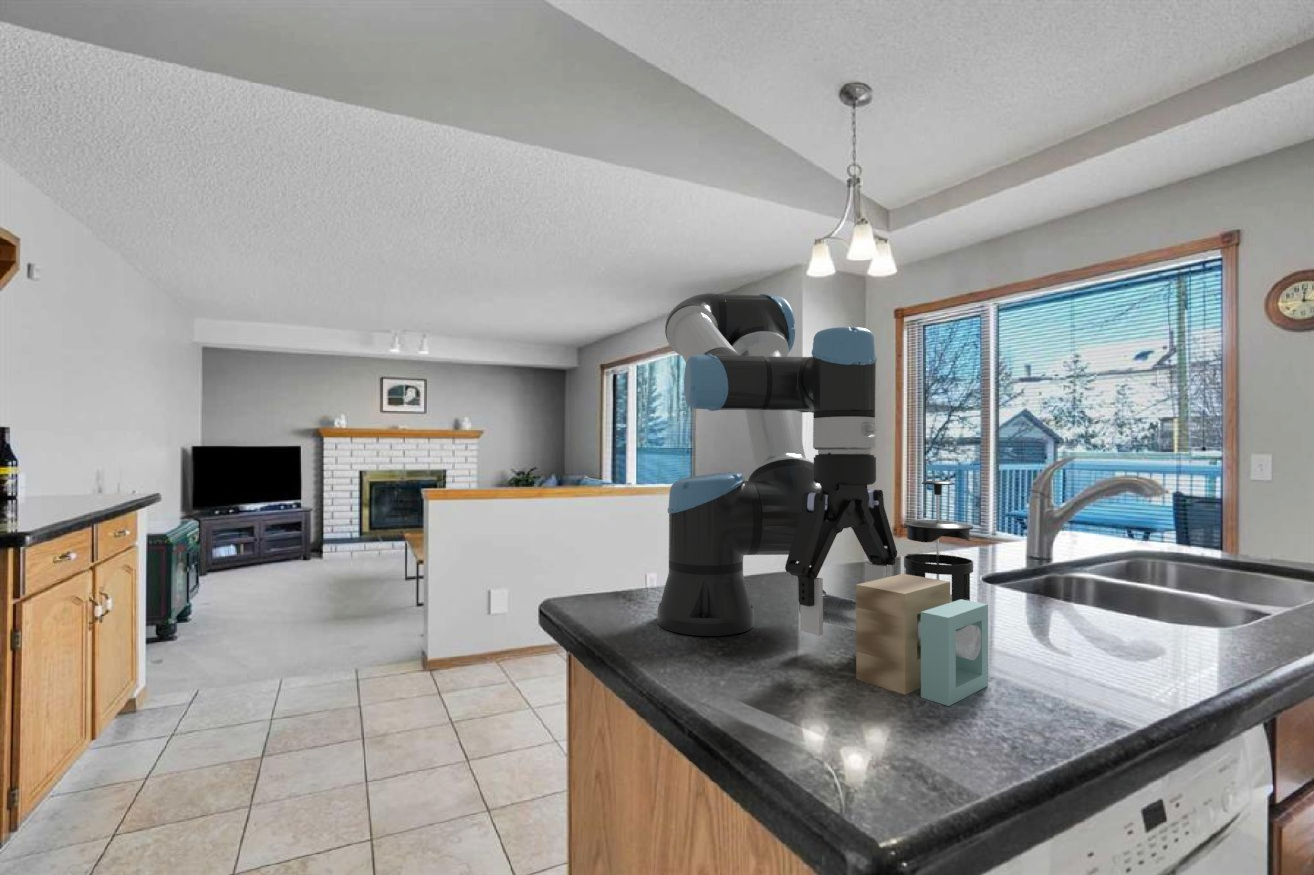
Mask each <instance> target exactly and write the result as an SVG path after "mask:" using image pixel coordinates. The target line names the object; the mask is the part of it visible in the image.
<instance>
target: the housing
mask: <svg viewBox="0 0 1314 875" xmlns="http://www.w3.org/2000/svg"><path fill="white" fill-rule="evenodd" d="M855 586H856V589H855V591H856V593H855V600H856V631H855V641H856V642H855V644H856V646H855V650H856V652H855V658H856V659H855V663H856V664H855V665H856V666H855V669H856V670H855V672H856V673H855V674H856V675H855V676H856V677H855V679H856V680H858V681H860V682H864V683H868V684H870V685H874V686H877V687H880V688H883V689H886V690H888V691H892V692H896V693H899V694H901V695H905V696H906V695H908V694H910V693H912V692H914V691H917V690H918V689H919V690H920V689H921V647H918V646H917V614H921V612H922V611H925V610H928V609H932V608H935V607H938V606H941V605H944V604H948V603H950V594H951V581H950V580H943V579H942V580H941V579H939V580H937V578H930V577H926V576H925V577H919V576H913V575H907V574H906V573H900V574H897V575H895V574H894V575H891V576H887V578H882V579H878V580H874V581H869V582H865V581H864V582H861V583H857V584H856V585H855Z"/></svg>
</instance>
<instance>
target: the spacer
mask: <svg viewBox="0 0 1314 875" xmlns="http://www.w3.org/2000/svg"><path fill="white" fill-rule="evenodd" d="M970 624H971V625H975V626H978V627H979V629H980V631H981V637H982V643H981V649H980V652H979V655H978V656H977V658H976V659H975V660H969V659H965V658H961V657H957V656H956V630H957V629H959V628H962V627H965V626H967V625H970ZM988 686H989V604H988V603H983V602H978V601H973V600H970V601H968V600H962V599H960V600H957V601H954V602H951V603H948V604H944V605H941V606H938V607H935V608H932V609H928V610H925V611H922V612H921V688H920V698H922V699H925V700H927V701H931V702H935V703H937V704H941V705H944V706H946V707H947V706H948V707H950V706H951V705H953V704H956V703H957V702H960V701H961V700H963V699H965V698H967V697H969V696H972V695H973V694H975V693H977V692H978V691H981V690H983V689H985V688H987V687H988Z"/></svg>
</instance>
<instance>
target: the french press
mask: <svg viewBox="0 0 1314 875" xmlns="http://www.w3.org/2000/svg"><path fill="white" fill-rule="evenodd" d="M921 484H922V485H928V486H929V485H931V486H933V494H934V495H935V499H936V502H935V503H936V507H935V510H936V512H935V513H936V514H935V515H936V518H935V519H922V520H921V519H920V520H910V521H906V522H905V521H904V522H903V526H904V527H906V539H908V540H910V541H913V542H919V543H933V542H935V541H936V552H935V553H934V554H933V553H907V554H906V555H904V556H903V567H904V568H905V574H907V575H913V576H919V577H925V578H926V574H932V575H936V579H937V580H940V575H943V576H944V575H945V576H950V575H951V593H950V603H951V602H954V601H957V600H960V599H962V600H968V601H971V574H972V573H973V572H974V561H973V559H970V558H966V557H961V556H956V555H949V554H940V538H941V537H945V538H954V539H955V538H956V539H961V540H965V541H967V542H970V541H971V540H970V537H971V536H970V535H971V534H970V531H971V530H973V529H974V526H973V525H971V524H968V523H963V522H957V521H953V520H941V519H940V496H941V495H942V486H953V485H955V483H954V482H952V481H949V480H926V481H923V482H921Z"/></svg>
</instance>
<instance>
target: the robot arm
mask: <svg viewBox="0 0 1314 875" xmlns="http://www.w3.org/2000/svg"><path fill="white" fill-rule="evenodd" d="M795 321H796V320H795V315H794V312H793V309H792V306H791V304H790V303H789V302H788V301H787V300H786V299H785V298H784V297H782V296H778V295H771V294H770V295H769V294H766V293H760V294H740V293H739V294H734V293H733V294H732V293H713V292H711V293H710V292H709V293H708V292H707V293H701V294H700V293H699V294H697V295H693V296H691V297H689V298H687V299H685V300H683V301H681V302H680V303H679V304H677V305H676V306H675V307H673V309H672V310H671V311H670V313H669V314H668V316H667V318H666V320H665V325H664V332H665V333H664V334H665V337H666V341H667V343H668V344H669V346H670V348H671V349H672V351H673V352H674V353H676V354H677V355H679V356H681V357H682V359H683V361H684V362H685V367H684V375H683V376H684V377H683V389H684V396H685V402H686V405H688V406H689V408H691V409H696V410H697V409H698V410H708V411H710V412H714V411H745V418H746V423H747V424H746V425H747V429H748V435H749V441H750V447H751V453H752V458H753V463H754V469H753V470H752V471H751V473H750V474H749V475H748V481H747V480H745V477H744V476H743V475H744V474H743V473H742V472H739V471H733V472H732V471H729V472H717V473H716V472H715V473H710V474H709V473H708V474H702V475H695V476H689V477H688V476H687V477H684V478H680V479H678V480H676V481H674V482H673V484H671V486H670V489H669V497H668V508H667V513H668V574H667V578H666V581H665V584H664V588H663V591H662V597H661V600H660V603H658V606H657V611H656V613H657V616H656V617H657V618H656V620H657V625H658V626H660V627H661V628H662V629H663V630H666V631H669V632H672V633H677V634H681V635H686V636H687V635H689V636H696V637H697V636H698V637H699V636H701V637H719V636H720V637H722V636H730V635H731V636H732V635H736V634H741V633H745V632H748V631H750V630H752V629H753V628H754V626H755V608H754V606H753V604H752V603H751V599H750V595H749V590H748V587H747V584H746V580H745V577H744V556H769V555H770V556H773V555H774V556H778V555H779V556H780V555H782V556H784V555H785V556H787V555H788V556H787V558H786V562H785V567H784V570H785V572H787V573H790V575H792V576H793V577H797V580H798V582H797V586H798V589H797V590H798V596H797V598H798V603H799V604H800V611H799V614H800V615H799V622H800V624H799V627H800V629H799V631H800V632H804V633H807V634H811V635H814V636H818V637H820V636H823V635H824V623H823V590H824V588H823V586H824V585H823V584H824V583H823V581H824V580H823V579H824V578H822V577H818V576H819V574H820V571H821V570H822V568H823V565H824V563H825V561H826V559H827V556H828V554H829V552H830V550H831V548H832V546H833V544H834V542H835V540H836V537H837V535H838V534H840V533H841V532H843V530H844V529H849V528H851V529H852V532H853V533H854V535H855V537H856V539H857V540H858V543H859V544H860V547H861V548H862V550H863V552H864V554H865V556H866V558H867V559H868V563H864V583H865V582H869V581H874V580H878V579H882V578H887V577H888V576H887V574H888V573H887V572H888V570H887V569H888V568H887V567H888V566H894V565H895V564H896V558H897V557H898V550H897V547H896V543H895V540H894V536H893V533H892V529H891V525H890V522H889V519H888V515H887V512H886V508H885V501H884V491H883V490H882V489H873V488H868V486H869V485H874V484H875V483H876V481H877V456H876V457H875V454H871V450H873V451H874V449H876V431H877V427H876V375H877V374H876V371H877V370H876V364H877V360H878V358H877V356H876V348H875V336H874V334H873V333H872V331H871V330H869V329H867V328H865V327H857V326H841V327H840V326H838V327H831V328H825V329H822V330H820V331H818V332H816V333H815V334H814V336H813V342H812V350H811V356H788V354H790V352H791V351H792V349H793V346H794V343H795V339H796V328H795V324H796V322H795ZM796 412H799V413H812V416H813V419H812V421H813V423H812V424H813V425H812V428H813V429H812V430H813V432H812V448H813V449H814V450H816V451H817V454H815V455H814V457H813V461H812V460H809V459H808V458H806V454H805V449H804V446H803V441H802V436H801V432H800V428H799V423H798V419H797V414H796ZM886 547H887V548H886ZM797 562H798V563H797ZM869 562H870V563H869ZM799 604H798V605H799Z"/></svg>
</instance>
